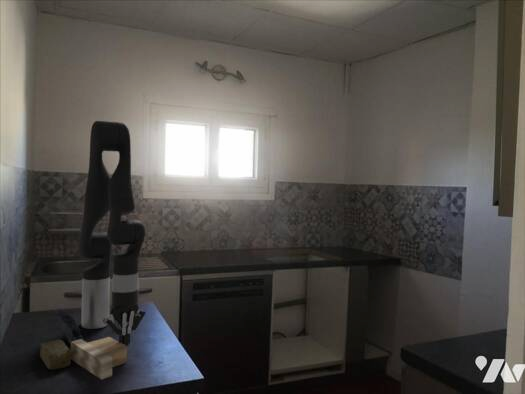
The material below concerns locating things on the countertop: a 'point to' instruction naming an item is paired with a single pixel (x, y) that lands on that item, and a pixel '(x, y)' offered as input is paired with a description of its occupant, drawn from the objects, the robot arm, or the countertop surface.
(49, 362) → the stone block
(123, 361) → the oak block
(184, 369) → the countertop surface
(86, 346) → the board
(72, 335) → the stone
